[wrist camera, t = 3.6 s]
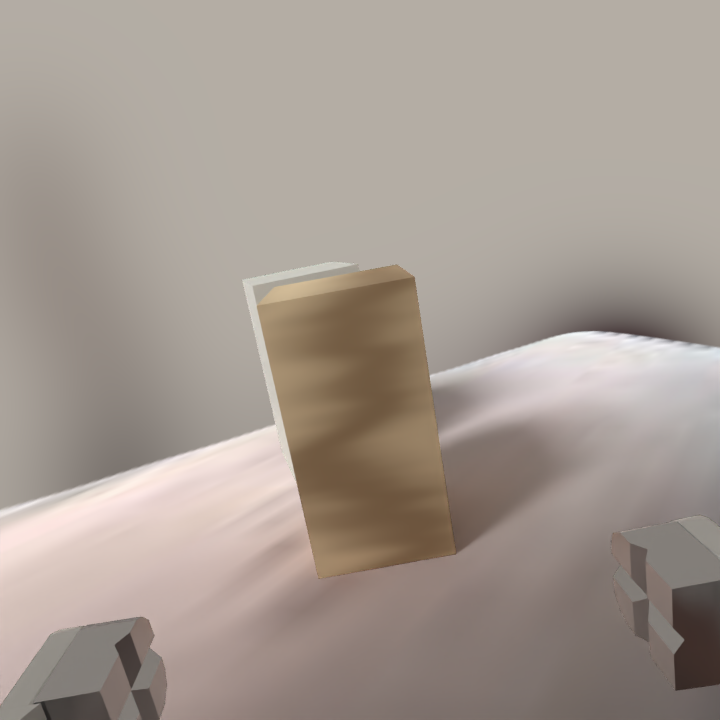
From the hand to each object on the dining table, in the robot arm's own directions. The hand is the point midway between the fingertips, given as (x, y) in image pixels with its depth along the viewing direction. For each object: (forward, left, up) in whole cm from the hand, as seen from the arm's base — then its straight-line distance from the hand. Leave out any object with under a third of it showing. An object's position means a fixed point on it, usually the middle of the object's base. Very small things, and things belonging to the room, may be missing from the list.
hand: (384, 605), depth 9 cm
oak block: (0, +11, -6) cm, 13 cm away
